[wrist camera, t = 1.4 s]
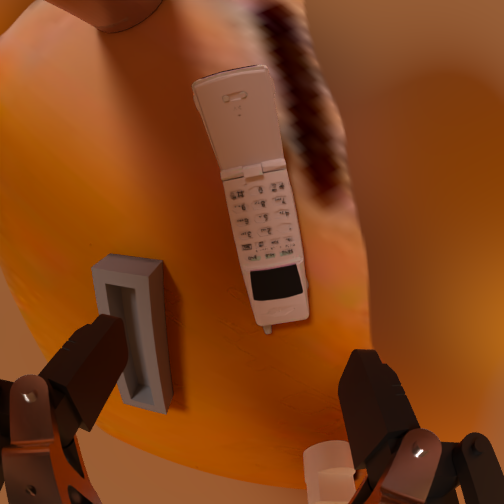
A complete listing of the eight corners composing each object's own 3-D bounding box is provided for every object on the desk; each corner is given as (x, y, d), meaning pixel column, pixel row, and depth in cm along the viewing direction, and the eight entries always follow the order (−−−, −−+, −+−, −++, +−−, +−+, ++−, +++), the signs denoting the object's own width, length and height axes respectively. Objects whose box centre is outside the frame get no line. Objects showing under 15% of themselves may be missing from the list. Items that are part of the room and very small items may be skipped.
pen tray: (110, 253, 28) (91, 267, 24) (162, 260, 28) (148, 276, 24) (132, 384, 35) (123, 403, 31) (173, 394, 35) (166, 414, 31)
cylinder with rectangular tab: (293, 457, 41) (295, 510, 29) (324, 436, 38) (331, 495, 26) (329, 463, 42) (335, 511, 31) (360, 443, 39) (371, 495, 28)
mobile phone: (268, 60, 16) (319, 355, 24) (269, 80, 22) (312, 321, 30) (186, 79, 17) (256, 364, 25) (205, 95, 22) (258, 329, 30)
